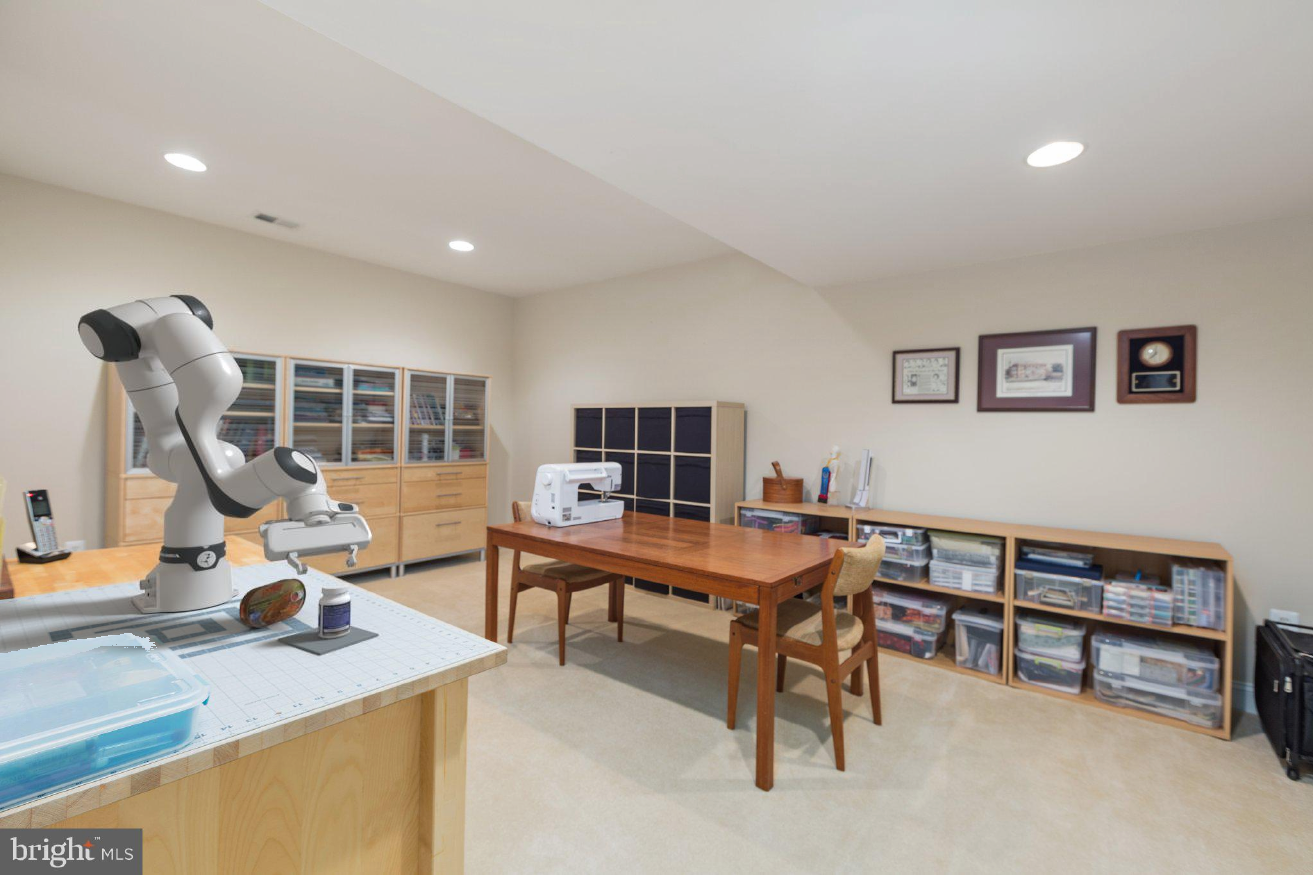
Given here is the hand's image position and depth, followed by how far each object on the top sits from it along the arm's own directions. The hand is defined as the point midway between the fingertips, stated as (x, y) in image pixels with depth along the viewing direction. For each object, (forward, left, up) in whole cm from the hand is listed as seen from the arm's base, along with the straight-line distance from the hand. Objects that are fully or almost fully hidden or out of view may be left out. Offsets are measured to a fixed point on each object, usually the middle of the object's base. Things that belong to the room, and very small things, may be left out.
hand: (328, 569), depth 120 cm
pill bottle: (+5, -2, -12) cm, 14 cm away
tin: (-15, -3, -13) cm, 20 cm away
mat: (+5, -3, -13) cm, 14 cm away
